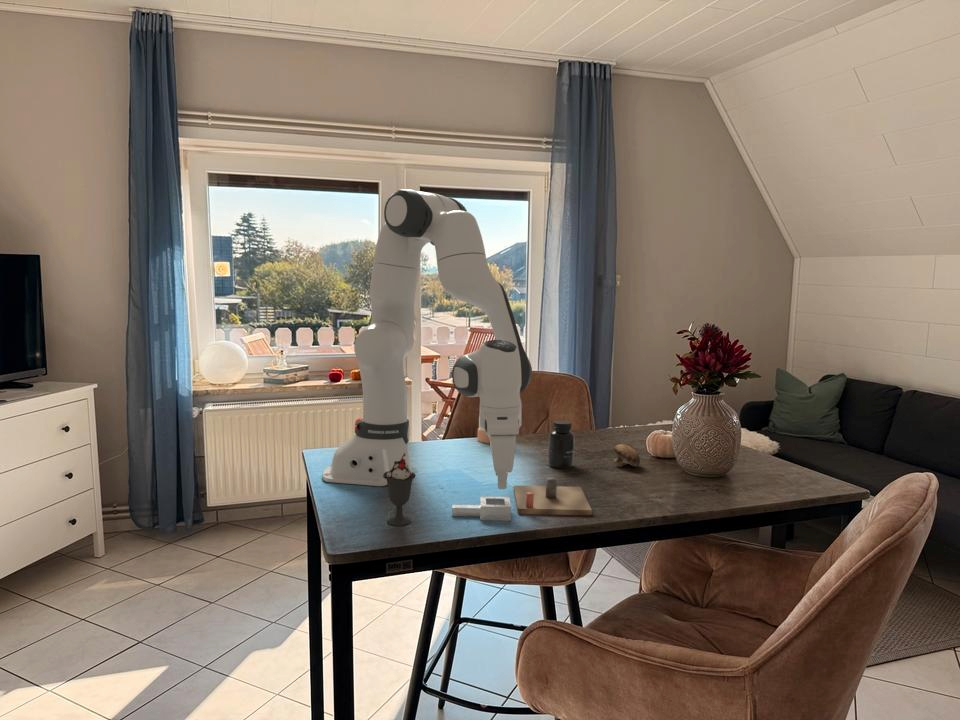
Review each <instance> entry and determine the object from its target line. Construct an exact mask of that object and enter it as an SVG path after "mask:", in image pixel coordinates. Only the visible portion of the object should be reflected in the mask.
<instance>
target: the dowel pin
mask: <svg viewBox="0 0 960 720" xmlns="http://www.w3.org/2000/svg"><path fill="white" fill-rule="evenodd" d="M533 501H534V493H532V492H528V493H526V507H527V508H533Z"/></svg>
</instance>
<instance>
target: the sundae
mask: <svg viewBox="0 0 960 720" xmlns="http://www.w3.org/2000/svg"><path fill="white" fill-rule="evenodd" d="M404 456H405V453H404V455H403V456H402V459H401V460H400V461H395V462H394V464H393V467H392V469H391V470H390V471H387V472H385V473H384V474H383V478H385V479H386V480H387V484H388V485H387V491H388V498H389V501H390V502H391V503H392V504H393V505H394V506H395V507H396V511H395V516H393V517H389V518H388V519H387V524H388V525H390V526H395V527H403V526H407V525H409V524H411V523H412V519H410V518H409V517H405V516H404V515H403V506H404V505H405V504H406V503H407V502H408V501H409V499H410V495H411V489H412V483H413V480H414V479H415V478H416V476H417V475H416V474H415V472H414V471H413V472H411V470H409V467H408V464H407V463H406V462H405V459H403V457H404Z"/></svg>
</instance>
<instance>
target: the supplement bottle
mask: <svg viewBox="0 0 960 720" xmlns="http://www.w3.org/2000/svg"><path fill="white" fill-rule="evenodd" d="M572 428H573V427H572V422H571V421H569V420H554V421H553V427H552V429H553V430H552V431H551V432H550V433H549V436H548V437H549V438H548V455H547V457H548V458H547V464H548V465H549V467H551V468H555V469H570V468H573V466H574V460H575V459H574V456H575V433H574V432H572V431H571V430H572Z"/></svg>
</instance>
